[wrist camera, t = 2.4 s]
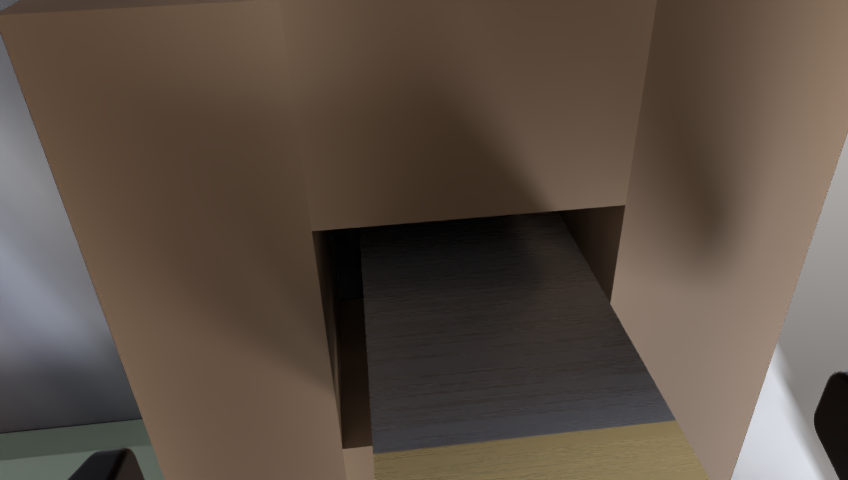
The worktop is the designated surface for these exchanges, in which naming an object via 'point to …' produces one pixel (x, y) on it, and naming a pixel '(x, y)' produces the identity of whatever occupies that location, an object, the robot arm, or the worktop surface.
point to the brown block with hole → (424, 188)
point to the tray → (72, 450)
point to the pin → (505, 360)
